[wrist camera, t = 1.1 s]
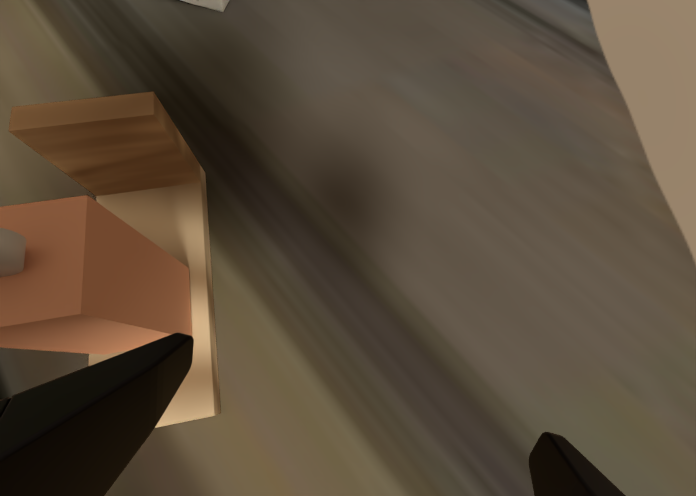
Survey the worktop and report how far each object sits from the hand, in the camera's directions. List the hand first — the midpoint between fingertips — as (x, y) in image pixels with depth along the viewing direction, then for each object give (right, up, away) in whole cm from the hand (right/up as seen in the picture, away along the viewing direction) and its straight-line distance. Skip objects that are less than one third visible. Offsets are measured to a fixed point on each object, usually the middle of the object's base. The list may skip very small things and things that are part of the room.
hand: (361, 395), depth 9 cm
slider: (-13, 0, +13) cm, 18 cm away
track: (-13, +1, +15) cm, 19 cm away
